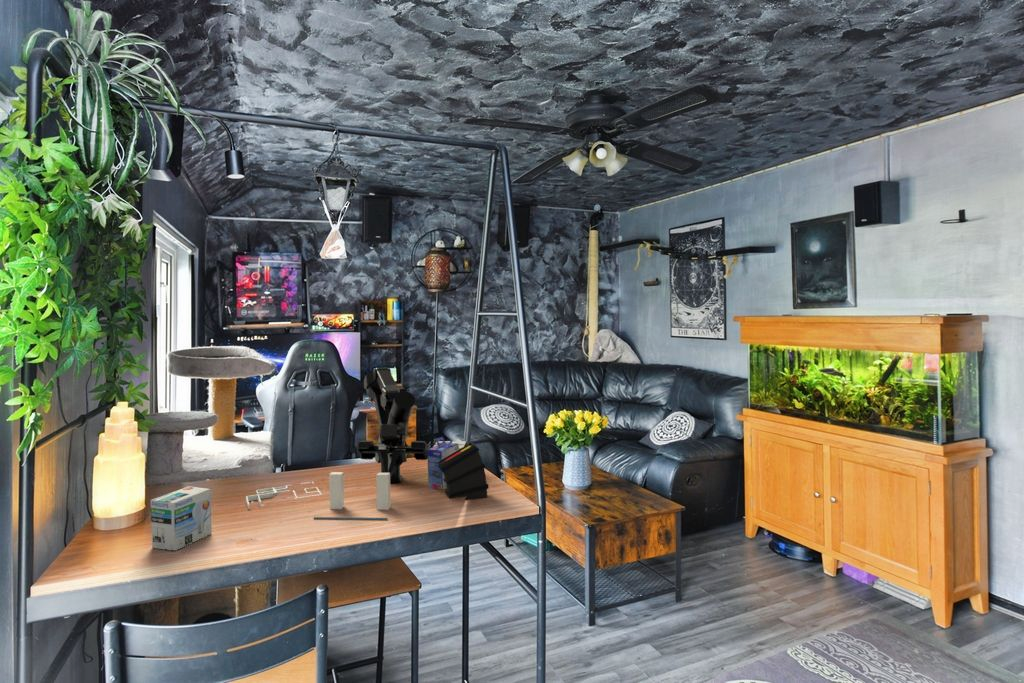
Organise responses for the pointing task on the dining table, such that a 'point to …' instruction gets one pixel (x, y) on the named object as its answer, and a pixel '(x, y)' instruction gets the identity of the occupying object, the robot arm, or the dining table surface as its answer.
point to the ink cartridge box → (434, 457)
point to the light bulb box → (181, 518)
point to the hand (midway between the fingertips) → (387, 478)
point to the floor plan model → (274, 493)
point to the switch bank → (350, 518)
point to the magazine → (464, 473)
